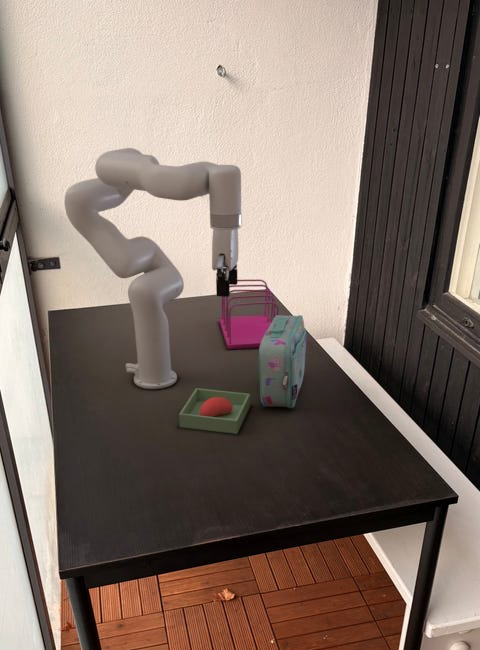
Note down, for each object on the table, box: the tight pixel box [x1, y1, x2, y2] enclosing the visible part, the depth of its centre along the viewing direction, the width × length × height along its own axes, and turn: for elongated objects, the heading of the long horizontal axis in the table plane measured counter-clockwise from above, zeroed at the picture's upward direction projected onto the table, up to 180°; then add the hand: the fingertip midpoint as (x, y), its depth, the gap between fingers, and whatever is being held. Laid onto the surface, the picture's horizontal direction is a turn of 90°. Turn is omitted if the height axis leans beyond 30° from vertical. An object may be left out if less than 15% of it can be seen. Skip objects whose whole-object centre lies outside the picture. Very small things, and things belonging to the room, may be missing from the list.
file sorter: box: [218, 278, 280, 350], centre depth 217 cm, size 17×25×16 cm
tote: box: [178, 387, 251, 435], centre depth 170 cm, size 15×15×4 cm
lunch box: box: [258, 314, 307, 409], centre depth 177 cm, size 27×10×21 cm, turn 168°
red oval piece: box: [199, 397, 233, 417], centre depth 170 cm, size 5×9×6 cm, turn 110°
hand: (227, 290), depth 164 cm, fingers open, 9 cm apart
